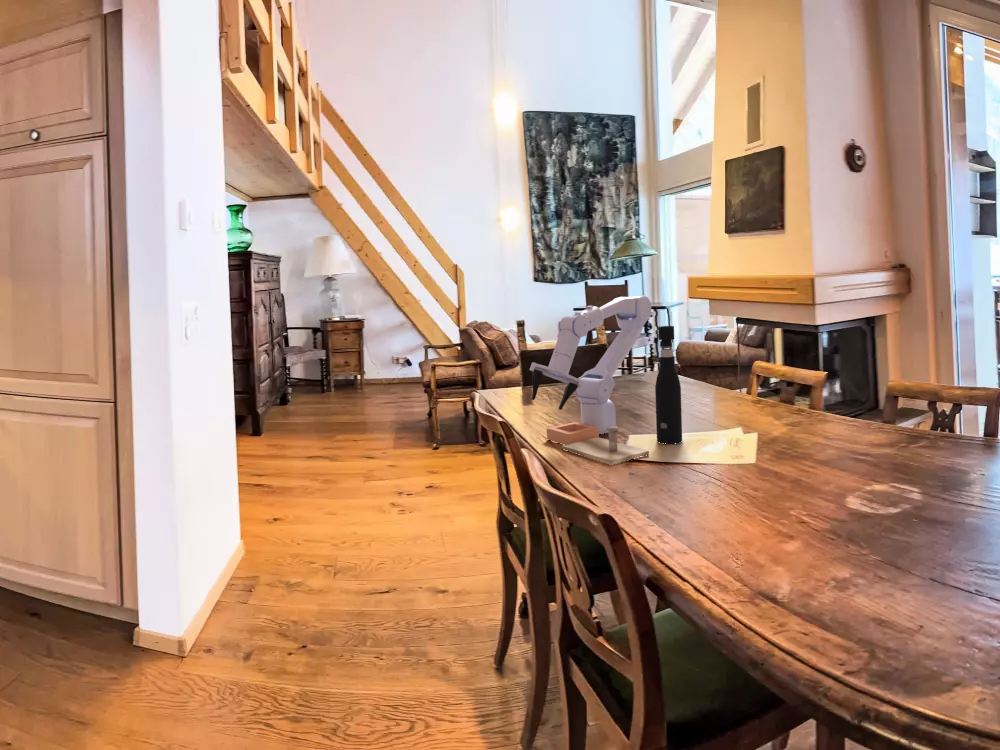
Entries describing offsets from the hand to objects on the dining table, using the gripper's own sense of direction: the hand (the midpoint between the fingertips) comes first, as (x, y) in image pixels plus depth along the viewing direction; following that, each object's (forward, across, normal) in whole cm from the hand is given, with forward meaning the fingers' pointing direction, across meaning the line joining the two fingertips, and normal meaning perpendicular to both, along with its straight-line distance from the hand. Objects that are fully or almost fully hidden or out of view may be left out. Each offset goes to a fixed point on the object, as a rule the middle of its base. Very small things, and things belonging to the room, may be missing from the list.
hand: (546, 404), depth 168 cm
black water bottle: (-1, +33, -4) cm, 33 cm away
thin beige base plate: (+8, +17, -8) cm, 20 cm away
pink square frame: (+6, +11, +6) cm, 14 cm away
